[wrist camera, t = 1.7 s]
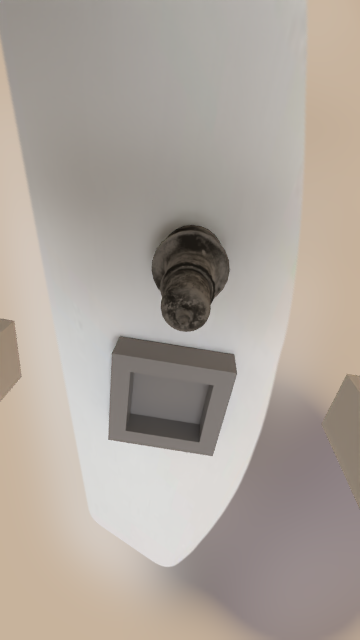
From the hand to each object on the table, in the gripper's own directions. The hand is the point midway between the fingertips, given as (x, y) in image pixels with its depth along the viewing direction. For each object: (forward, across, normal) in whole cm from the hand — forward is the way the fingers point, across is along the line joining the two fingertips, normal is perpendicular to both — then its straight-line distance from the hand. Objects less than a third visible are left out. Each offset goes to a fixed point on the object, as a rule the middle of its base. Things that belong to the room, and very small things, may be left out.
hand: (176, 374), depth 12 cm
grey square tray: (+16, 0, -15) cm, 22 cm away
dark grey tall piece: (+16, 0, 0) cm, 16 cm away
